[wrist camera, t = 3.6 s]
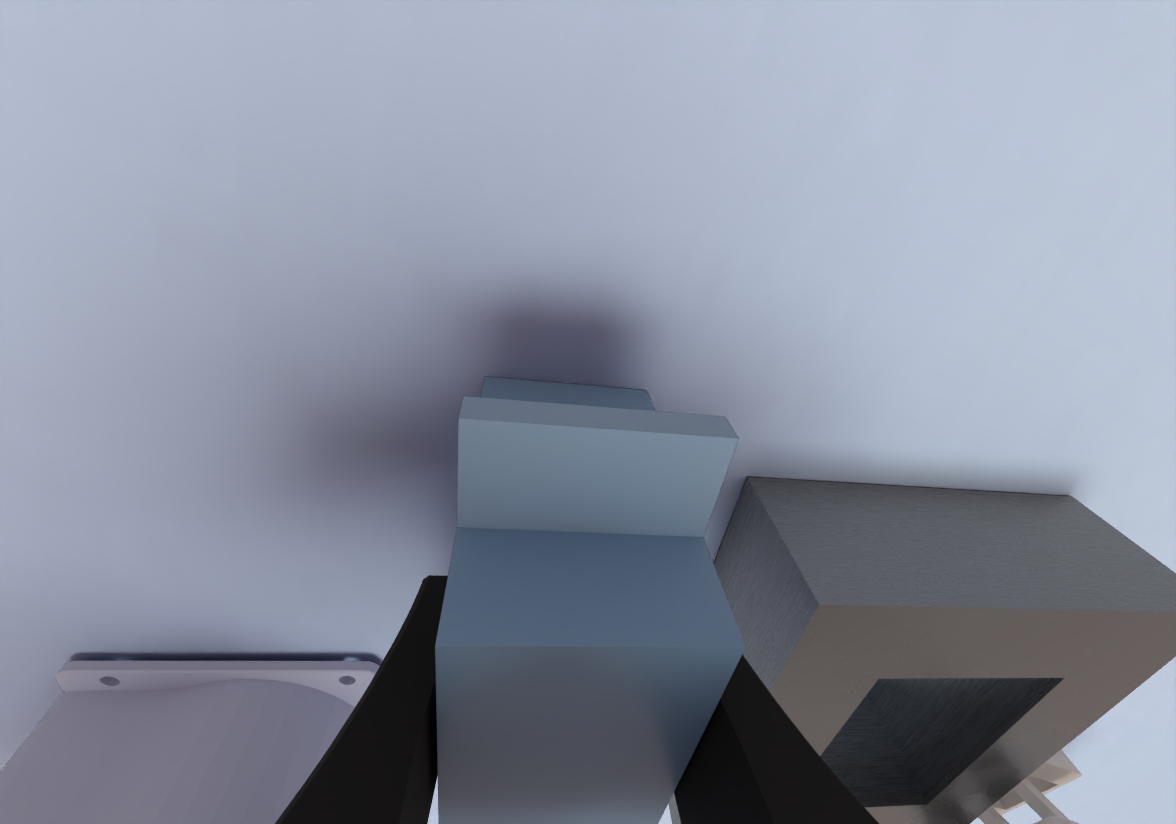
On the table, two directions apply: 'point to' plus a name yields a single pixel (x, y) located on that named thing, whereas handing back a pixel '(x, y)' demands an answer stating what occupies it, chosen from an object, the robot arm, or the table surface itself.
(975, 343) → the table surface
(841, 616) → the frame
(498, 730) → the block
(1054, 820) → the security camera
